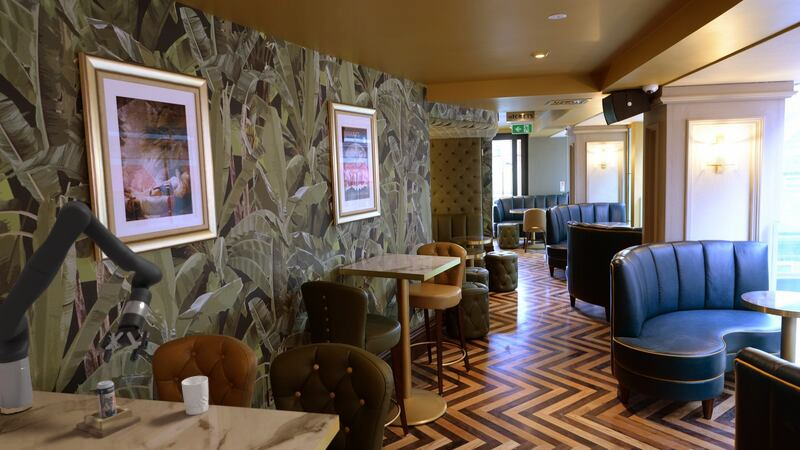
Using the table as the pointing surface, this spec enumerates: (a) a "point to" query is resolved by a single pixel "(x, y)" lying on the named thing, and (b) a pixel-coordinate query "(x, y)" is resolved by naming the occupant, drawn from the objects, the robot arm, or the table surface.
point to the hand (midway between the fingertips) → (119, 361)
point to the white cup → (195, 394)
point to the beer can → (106, 399)
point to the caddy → (108, 422)
